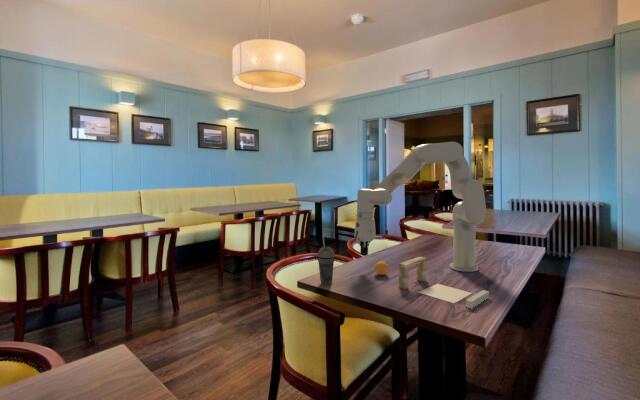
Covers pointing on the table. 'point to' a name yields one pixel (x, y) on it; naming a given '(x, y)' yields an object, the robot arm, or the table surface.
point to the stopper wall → (477, 299)
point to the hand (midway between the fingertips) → (364, 254)
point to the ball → (381, 268)
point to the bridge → (405, 268)
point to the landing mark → (445, 293)
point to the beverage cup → (326, 264)
